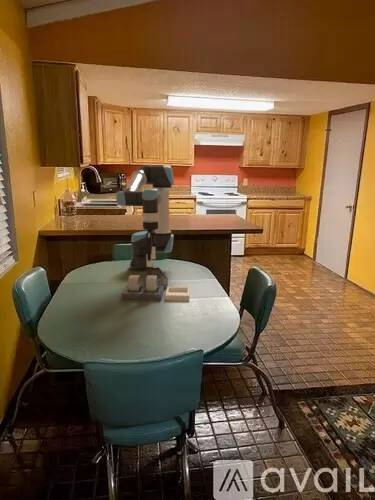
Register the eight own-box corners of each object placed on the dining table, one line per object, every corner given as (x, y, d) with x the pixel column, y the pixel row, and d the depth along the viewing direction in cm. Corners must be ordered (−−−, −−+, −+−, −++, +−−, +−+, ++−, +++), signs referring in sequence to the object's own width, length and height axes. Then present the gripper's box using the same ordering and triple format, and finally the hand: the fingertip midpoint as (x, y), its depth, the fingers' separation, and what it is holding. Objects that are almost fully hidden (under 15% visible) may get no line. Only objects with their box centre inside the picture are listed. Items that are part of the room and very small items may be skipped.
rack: (126, 290, 182) (126, 285, 182) (163, 291, 182) (163, 285, 181) (121, 299, 171) (121, 293, 170) (161, 300, 171) (161, 294, 170)
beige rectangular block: (130, 293, 179) (130, 275, 176) (140, 293, 179) (139, 275, 176) (129, 296, 174) (128, 278, 172) (138, 296, 174) (138, 278, 172)
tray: (167, 291, 182) (167, 286, 181) (189, 291, 182) (189, 286, 181) (165, 300, 171) (165, 295, 170) (189, 300, 170) (189, 295, 170)
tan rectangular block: (147, 293, 179) (147, 275, 176) (157, 293, 179) (157, 275, 176) (146, 297, 174) (146, 278, 171) (156, 297, 174) (156, 278, 171)
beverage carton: (154, 289, 185) (153, 278, 183) (146, 278, 202) (146, 267, 201) (168, 287, 187) (168, 276, 186) (159, 276, 205) (159, 266, 203)
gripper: (146, 216, 178) (147, 255, 184) (138, 225, 154) (140, 269, 160) (160, 217, 178) (161, 256, 184) (155, 225, 154) (155, 270, 159)
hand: (151, 262), depth 172 cm, fingers open, 13 cm apart
